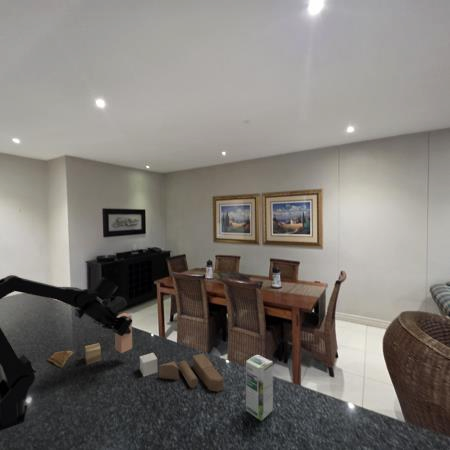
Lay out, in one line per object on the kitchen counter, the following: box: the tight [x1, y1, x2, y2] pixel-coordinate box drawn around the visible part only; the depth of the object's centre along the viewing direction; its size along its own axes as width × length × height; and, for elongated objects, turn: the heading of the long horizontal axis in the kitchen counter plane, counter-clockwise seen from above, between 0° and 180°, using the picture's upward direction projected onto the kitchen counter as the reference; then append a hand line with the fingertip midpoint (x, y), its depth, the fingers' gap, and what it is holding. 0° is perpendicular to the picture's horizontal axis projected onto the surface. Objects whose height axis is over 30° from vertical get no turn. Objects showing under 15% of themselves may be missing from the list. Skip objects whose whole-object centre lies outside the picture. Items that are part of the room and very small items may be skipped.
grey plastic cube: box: [139, 352, 159, 377], centre depth 91 cm, size 5×5×5 cm
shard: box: [47, 350, 74, 368], centre depth 98 cm, size 11×8×2 cm
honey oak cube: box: [84, 342, 102, 365], centre depth 99 cm, size 5×5×5 cm
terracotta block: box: [114, 312, 133, 354], centre depth 97 cm, size 4×4×13 cm
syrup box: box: [245, 354, 274, 422], centre depth 71 cm, size 6×6×14 cm
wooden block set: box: [158, 352, 224, 393], centre depth 84 cm, size 17×6×18 cm
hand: (126, 330), depth 98 cm, fingers closed on terracotta block, 4 cm apart
